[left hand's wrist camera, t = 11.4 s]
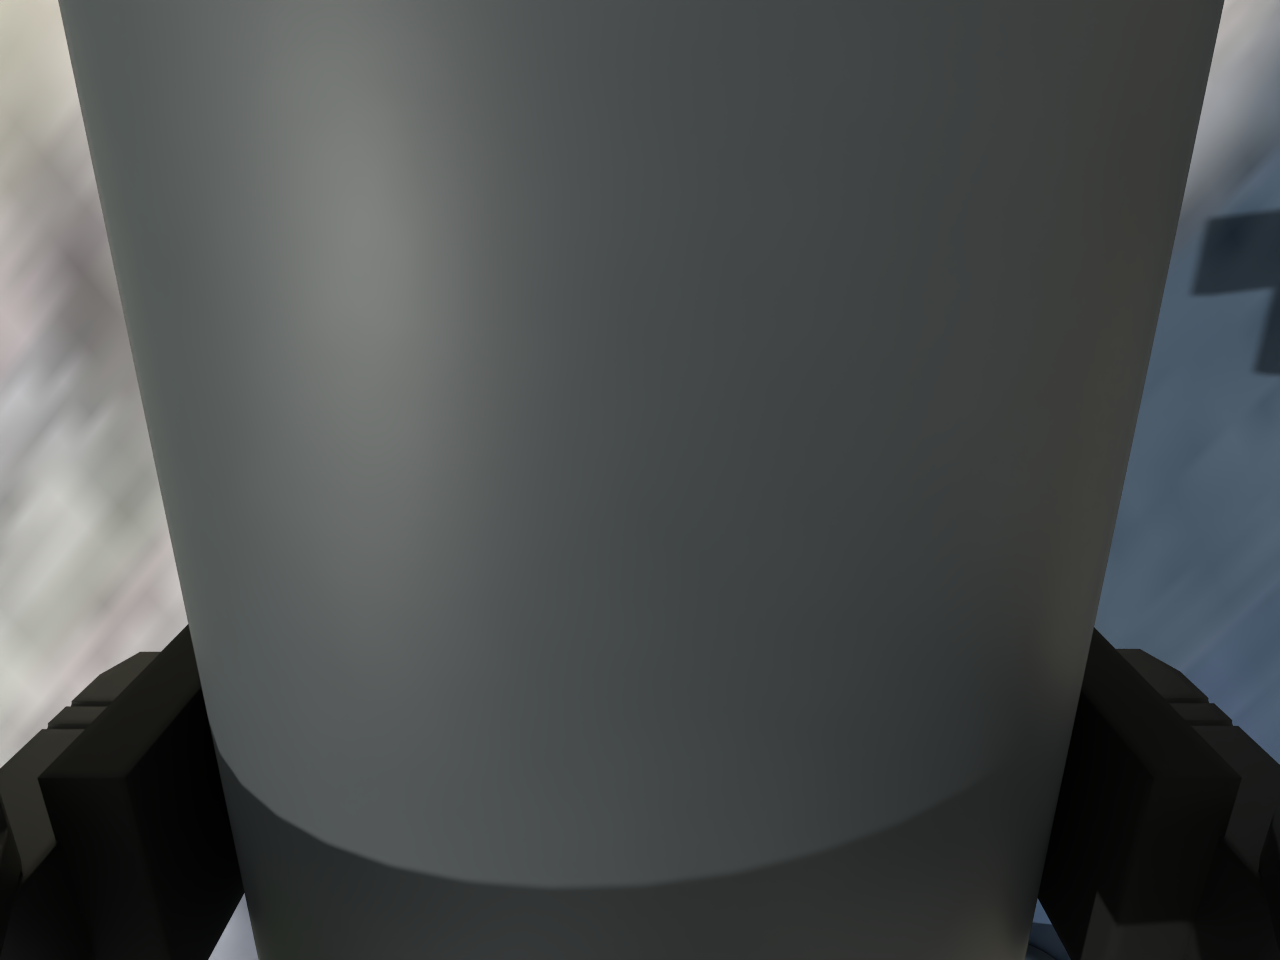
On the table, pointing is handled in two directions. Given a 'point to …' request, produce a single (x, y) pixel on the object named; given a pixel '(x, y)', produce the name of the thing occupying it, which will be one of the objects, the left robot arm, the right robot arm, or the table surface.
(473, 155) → the dark grey cylinder
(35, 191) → the table surface
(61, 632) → the table surface
